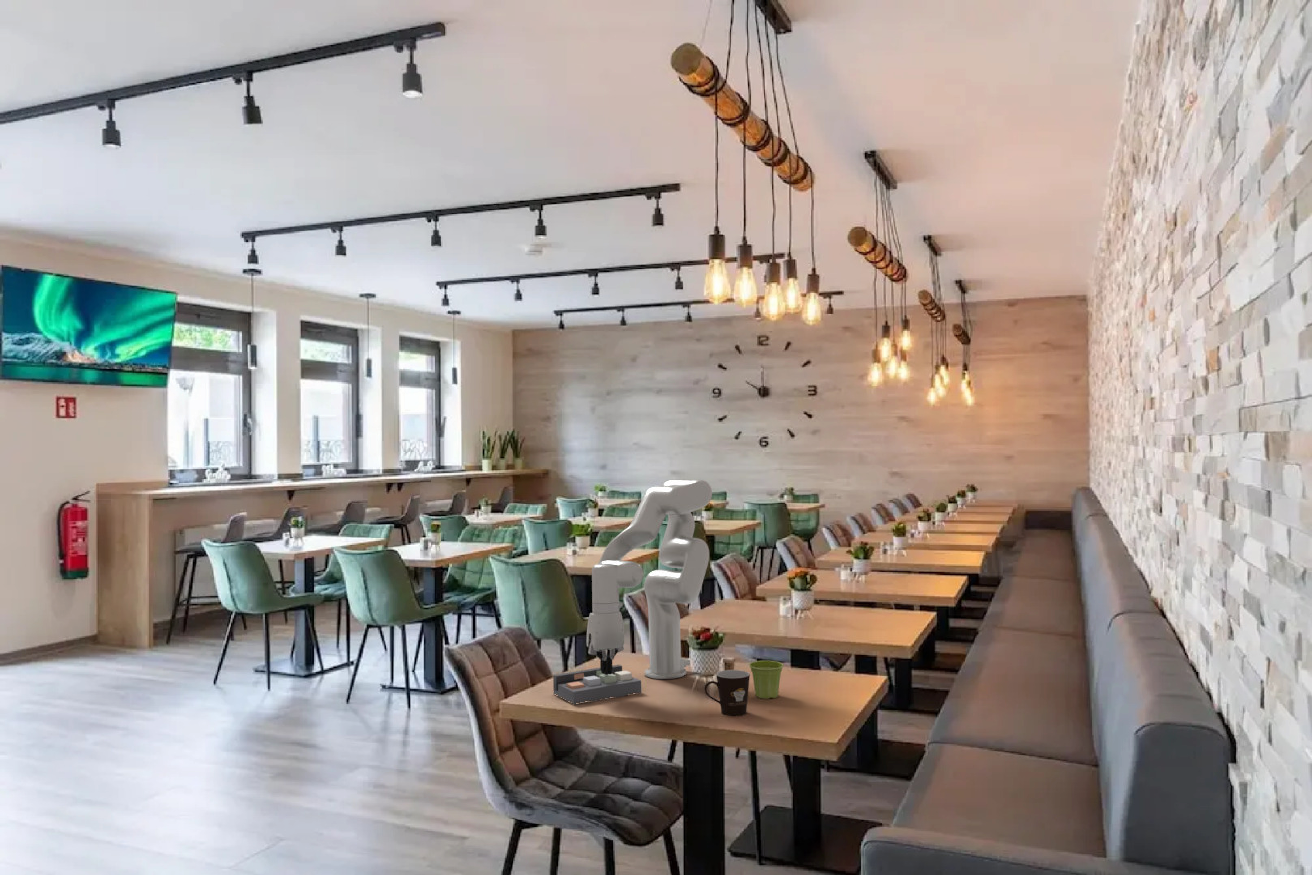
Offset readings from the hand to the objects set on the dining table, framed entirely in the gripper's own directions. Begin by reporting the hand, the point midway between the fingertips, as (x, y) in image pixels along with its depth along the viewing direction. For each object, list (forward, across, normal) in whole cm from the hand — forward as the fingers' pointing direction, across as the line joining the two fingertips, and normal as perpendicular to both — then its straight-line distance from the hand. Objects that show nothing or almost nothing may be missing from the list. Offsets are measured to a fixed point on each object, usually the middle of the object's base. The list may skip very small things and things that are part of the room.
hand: (606, 673), depth 265 cm
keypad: (+6, +2, -2) cm, 6 cm away
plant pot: (+6, -35, +28) cm, 45 cm away
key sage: (+3, 0, 0) cm, 3 cm away
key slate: (+3, +5, 0) cm, 5 cm away
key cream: (+3, -5, 0) cm, 6 cm away
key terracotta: (+4, +10, 0) cm, 10 cm away
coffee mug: (+6, -17, +35) cm, 39 cm away
